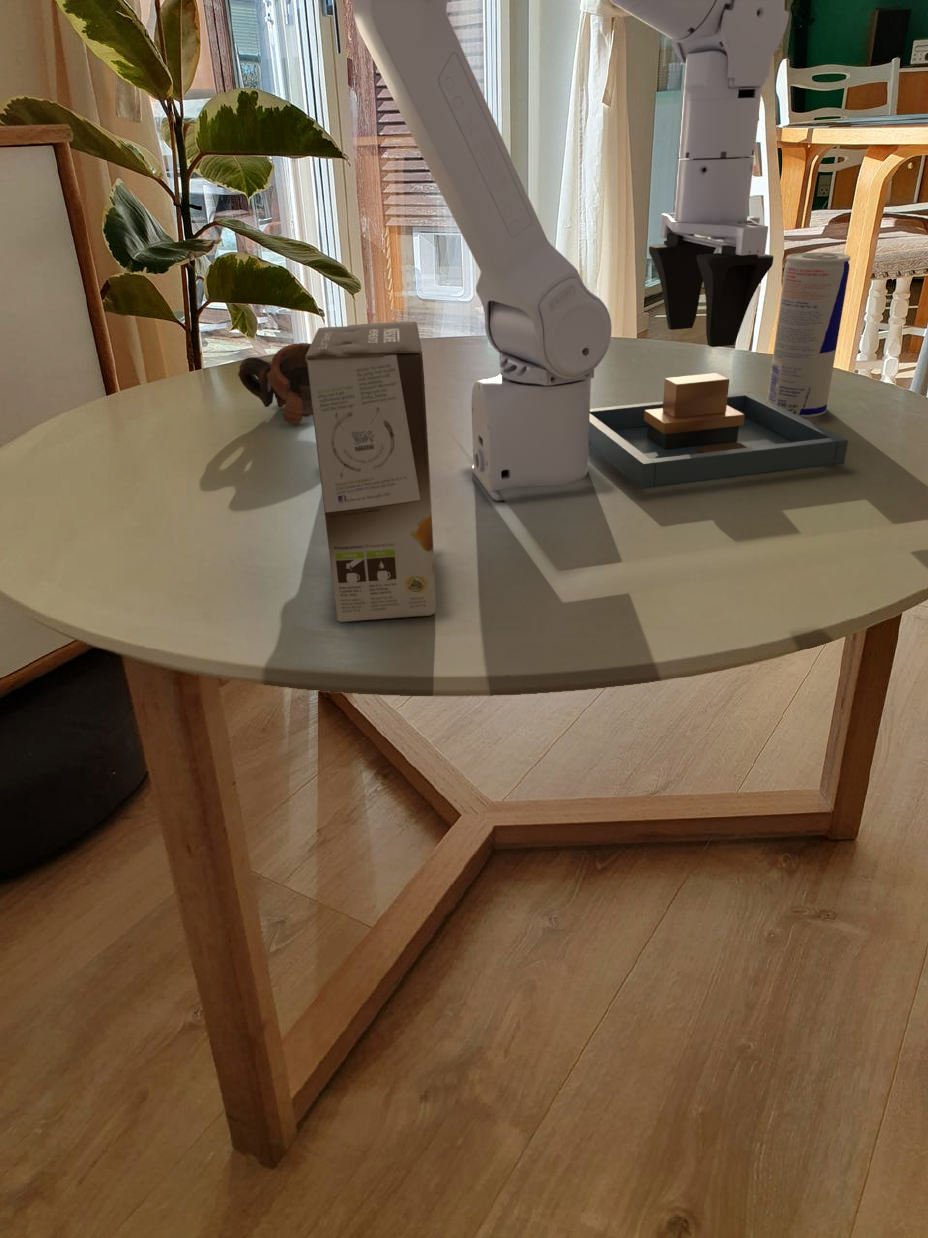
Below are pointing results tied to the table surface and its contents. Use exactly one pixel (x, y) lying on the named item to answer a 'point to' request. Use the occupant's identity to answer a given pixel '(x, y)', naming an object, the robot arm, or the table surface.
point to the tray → (765, 432)
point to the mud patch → (720, 448)
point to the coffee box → (374, 468)
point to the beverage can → (808, 331)
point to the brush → (694, 413)
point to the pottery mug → (281, 381)
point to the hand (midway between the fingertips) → (699, 336)
